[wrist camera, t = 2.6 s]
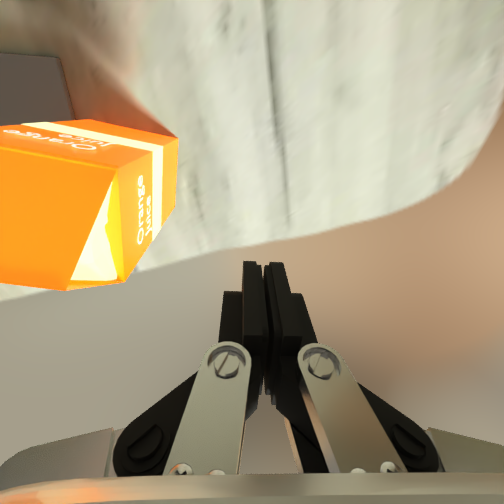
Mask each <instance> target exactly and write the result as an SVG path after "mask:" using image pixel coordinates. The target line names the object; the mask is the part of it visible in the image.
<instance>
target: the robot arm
mask: <svg viewBox="0 0 504 504" xmlns="http://www.w3.org/2000/svg"><path fill="white" fill-rule="evenodd" d="M263 378H264V385H265V394H266V395H271V404H272V405H276V409H277V410H279V412H280V413H281V414H283V415H284V420H285V426H286V429H287V433H288V437H289V441H290V444H291V448H292V452H293V456H294V459H295V463H296V467H297V470H298V474H239V470H240V462H241V455H242V446H243V440H244V432H245V424H246V420H247V419H248V418H249V417H250V416H251V414H252V413H253V412H254V411H255V410H256V409H257V405H258V397H259V395H261V391H262V385H263ZM0 504H504V446H502V445H499V444H495V443H491V442H487V441H483V440H479V439H475V438H471V437H467V436H463V435H459V434H455V433H450V432H446V431H442V430H438V429H434V428H430V427H429V428H428V429H427V430H423V429H422V428H421V427H419V426H418V425H417V424H416V423H415V422H414V421H412V420H411V419H409V418H408V417H406V416H405V415H404V414H402V413H401V412H399V411H398V410H396V409H395V408H393V407H392V406H390V405H389V404H388V403H386V402H385V401H383V400H382V399H381V398H379V397H378V396H376V395H375V394H373V393H372V392H371V391H369V390H368V389H366V388H365V387H363V386H362V385H361V384H359V383H357V382H356V380H355V379H354V377H353V375H352V373H351V372H350V370H349V368H348V367H347V365H346V363H345V362H344V359H343V358H342V357H341V356H340V354H339V353H338V352H336V351H335V350H334V349H333V348H331V347H329V346H327V345H324V344H320V343H318V342H317V339H316V335H315V332H314V329H313V326H312V323H311V320H310V317H309V314H308V311H307V308H306V305H305V301H304V298H303V296H302V294H301V293H291V291H290V287H289V283H288V279H287V276H286V272H285V268H284V264H283V263H282V262H270V263H269V265H265V267H264V276H263V277H262V268H261V265H257V264H256V261H244V262H243V277H242V292H238V291H224V295H223V304H222V313H221V322H220V331H219V341H218V343H217V344H216V345H213V346H211V348H209V349H208V350H207V351H206V353H205V354H204V356H203V359H202V362H201V364H200V368H199V370H198V371H197V372H196V373H195V374H193V375H192V376H191V377H189V378H188V379H187V380H186V381H185V382H183V383H182V384H181V385H179V386H178V387H176V388H175V389H174V390H173V391H171V392H170V393H169V394H167V395H166V396H165V397H163V398H162V399H161V400H160V401H158V402H157V403H156V404H154V405H153V406H152V407H150V408H149V409H148V410H146V411H145V412H144V413H142V415H140V416H139V417H137V418H136V419H135V420H133V421H132V422H131V423H130V424H129V425H128V426H127V427H126V428H124V429H119V430H115V431H114V430H113V428H108V429H104V430H100V431H96V432H91V433H88V434H83V435H79V436H75V437H71V438H66V439H62V440H58V441H54V442H50V443H46V444H42V445H37V446H34V447H30V448H28V449H25V450H23V451H20V452H18V453H17V454H15V455H14V456H12V457H11V458H10V459H8V460H7V461H5V462H4V463H3V464H2V465H1V466H0Z"/></svg>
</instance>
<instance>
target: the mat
mask: <svg viewBox="0 0 504 504" xmlns="http://www.w3.org/2000/svg"><path fill="white" fill-rule="evenodd" d="M73 120H75V116H74V112H73V108H72V104H71V100H70V97H69V93H68V89H67V85H66V81H65V78H64V74H63V70H62V66H61V62H60V59H59V58H56V57H45V56H33V55H21V54H9V53H0V126H9V125H21V124H25V123H38V122H60V121H73Z"/></svg>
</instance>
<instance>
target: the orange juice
mask: <svg viewBox="0 0 504 504" xmlns="http://www.w3.org/2000/svg"><path fill="white" fill-rule="evenodd" d="M177 155H178V138H174V137H169V136H165V135H160V134H155V133H151V132H146V131H141V130H136V129H132V128H127V127H122V126H118V125H113V124H108V123H104V122H99V121H94V120H90V119H85V120H73V121H60V122H38V123H25V124H21V125H9V126H0V283H5V284H13V285H21V286H29V287H38V288H46V289H54V290H62V291H66V290H72V289H78V288H86V287H93V286H100V285H107V284H114V283H121V281H122V282H125V281H126V279H127V278H128V276H129V275H130V273H131V272H132V270H133V269H134V267H135V266H136V264H137V263H138V261H139V260H140V258H141V257H142V255H143V254H144V252H145V251H146V249H147V248H148V246H149V245H150V243H151V242H152V241H153V240H154V238H155V237H156V235H157V234H158V232H159V231H160V229H161V227H162V225H163V224H164V222H165V221H166V219H167V218H168V216H169V215H170V213H171V212H172V210H173V209H174V207H175V193H176V174H177ZM113 280H114V281H113Z"/></svg>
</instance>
